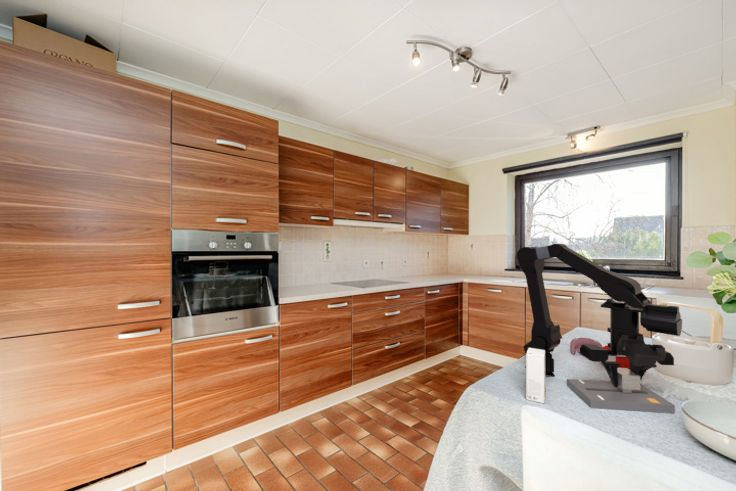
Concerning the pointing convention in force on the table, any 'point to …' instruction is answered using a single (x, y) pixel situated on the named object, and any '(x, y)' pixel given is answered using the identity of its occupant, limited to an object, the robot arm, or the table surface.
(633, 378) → the fader knob
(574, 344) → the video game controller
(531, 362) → the skincare box
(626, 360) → the tomato
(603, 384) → the fader board
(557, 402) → the table surface
